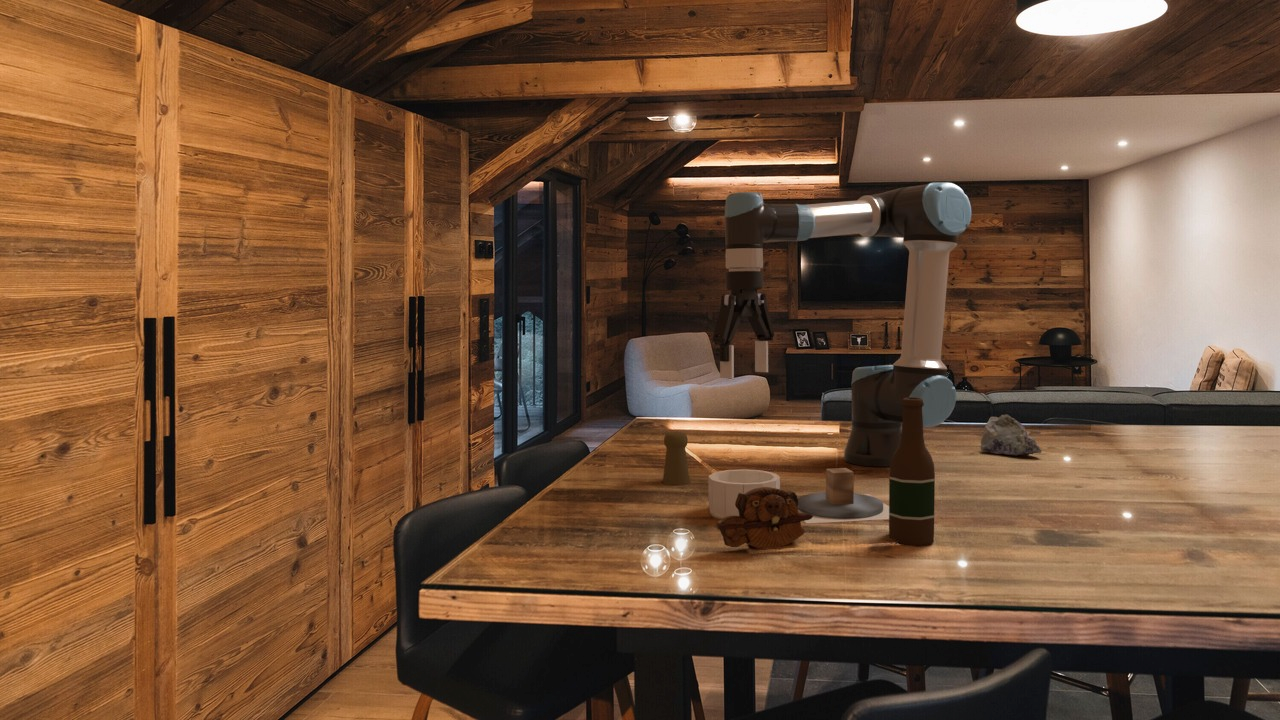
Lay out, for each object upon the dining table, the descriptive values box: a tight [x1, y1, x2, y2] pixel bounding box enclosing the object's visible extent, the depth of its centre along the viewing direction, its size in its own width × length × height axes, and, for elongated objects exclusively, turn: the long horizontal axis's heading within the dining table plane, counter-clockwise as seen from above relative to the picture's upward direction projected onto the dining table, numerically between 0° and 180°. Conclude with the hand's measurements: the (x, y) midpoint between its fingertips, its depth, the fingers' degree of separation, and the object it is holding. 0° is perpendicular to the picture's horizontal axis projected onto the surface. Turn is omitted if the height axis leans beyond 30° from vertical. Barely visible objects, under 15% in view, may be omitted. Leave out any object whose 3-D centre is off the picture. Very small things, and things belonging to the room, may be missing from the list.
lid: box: [797, 467, 884, 519], centre depth 174 cm, size 16×16×7 cm
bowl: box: [707, 468, 781, 521], centre depth 174 cm, size 13×13×7 cm
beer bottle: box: [888, 397, 936, 547], centre depth 154 cm, size 8×8×24 cm
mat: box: [798, 493, 889, 525], centre depth 175 cm, size 19×19×1 cm
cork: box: [662, 431, 691, 486], centre depth 201 cm, size 6×6×11 cm
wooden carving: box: [716, 487, 813, 549], centre depth 151 cm, size 16×5×10 cm, turn 110°
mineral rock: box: [980, 414, 1043, 457], centre depth 225 cm, size 13×11×10 cm
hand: (744, 375), depth 188 cm, fingers open, 13 cm apart
